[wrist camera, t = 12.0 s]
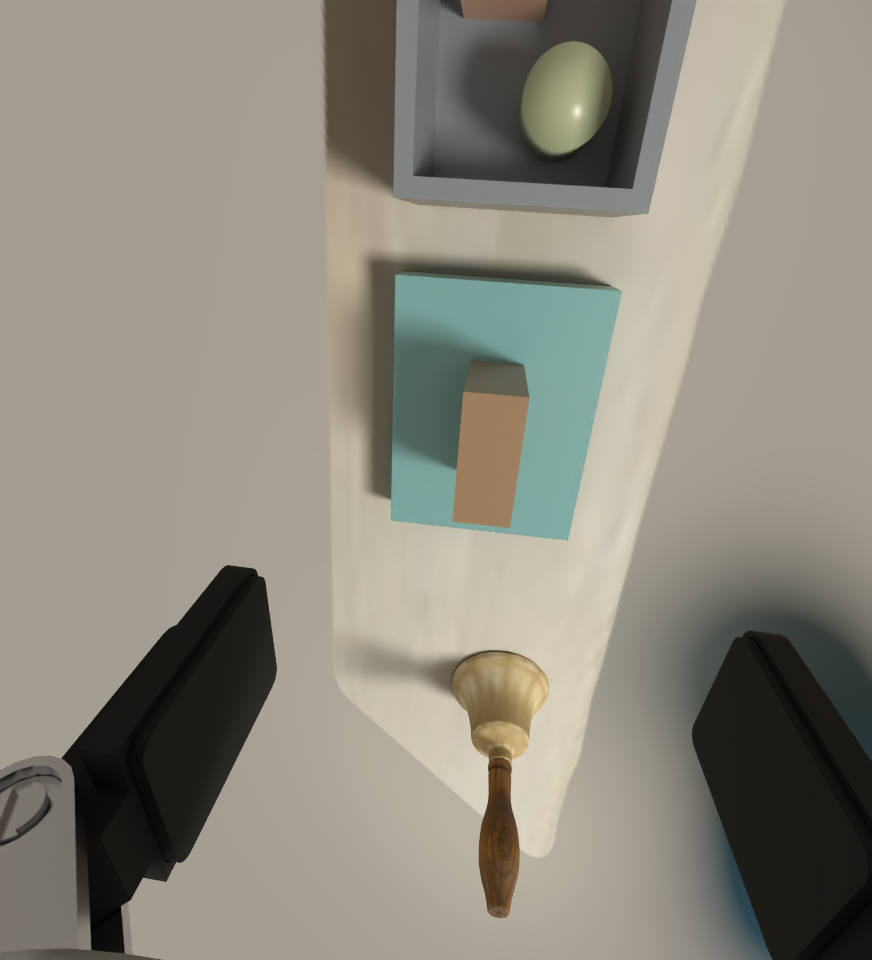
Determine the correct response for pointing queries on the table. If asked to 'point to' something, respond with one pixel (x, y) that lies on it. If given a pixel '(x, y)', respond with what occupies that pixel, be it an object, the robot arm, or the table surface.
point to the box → (535, 102)
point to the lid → (495, 399)
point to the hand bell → (499, 755)
